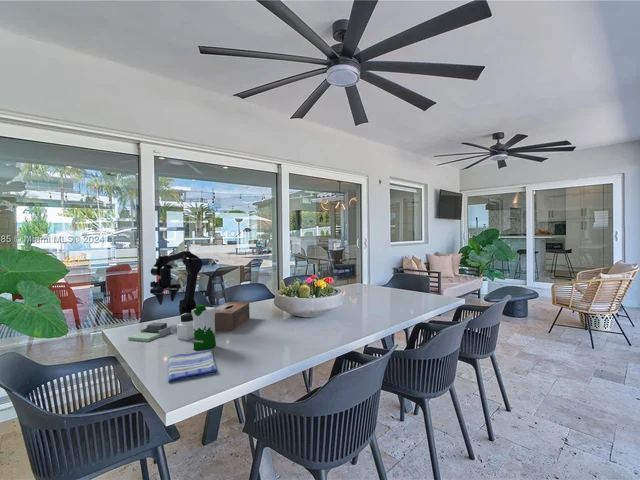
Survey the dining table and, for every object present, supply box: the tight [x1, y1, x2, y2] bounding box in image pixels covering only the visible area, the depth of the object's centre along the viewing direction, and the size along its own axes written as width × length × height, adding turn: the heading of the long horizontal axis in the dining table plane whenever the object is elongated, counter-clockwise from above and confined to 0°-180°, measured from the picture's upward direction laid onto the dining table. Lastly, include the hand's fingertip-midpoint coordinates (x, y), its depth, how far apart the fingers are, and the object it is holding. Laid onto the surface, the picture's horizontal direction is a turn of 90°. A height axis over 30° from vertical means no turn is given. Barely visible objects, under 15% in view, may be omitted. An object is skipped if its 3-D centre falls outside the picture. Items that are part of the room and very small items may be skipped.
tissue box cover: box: [215, 301, 251, 332], centre depth 185 cm, size 26×14×10 cm, turn 172°
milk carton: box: [191, 303, 217, 351], centre depth 146 cm, size 9×9×20 cm
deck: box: [127, 326, 171, 343], centre depth 165 cm, size 12×15×3 cm
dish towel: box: [167, 349, 218, 383], centre depth 126 cm, size 17×24×3 cm
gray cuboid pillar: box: [146, 322, 168, 334], centre depth 170 cm, size 8×5×5 cm, turn 80°
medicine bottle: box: [176, 313, 194, 341], centre depth 162 cm, size 7×7×12 cm
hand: (166, 302), depth 189 cm, fingers open, 9 cm apart
